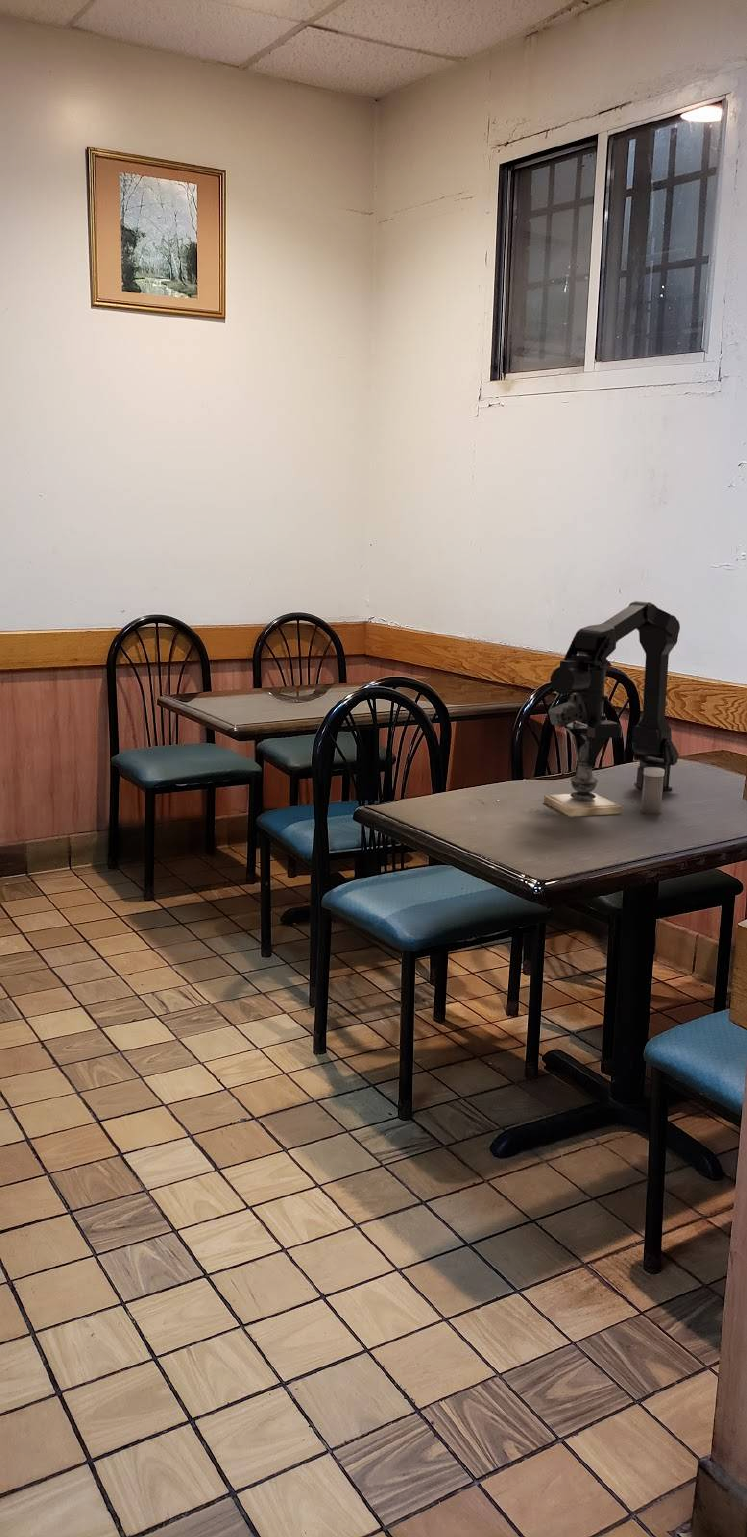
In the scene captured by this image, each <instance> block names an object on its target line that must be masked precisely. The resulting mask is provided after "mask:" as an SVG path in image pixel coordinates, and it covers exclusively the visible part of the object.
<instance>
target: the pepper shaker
mask: <svg viewBox="0 0 747 1537" xmlns="http://www.w3.org/2000/svg"><path fill="white" fill-rule="evenodd" d="M664 771H665V770H664V769H662V768H657V767H646V768H644V781H643V789H642V794H641V807H640V809H641V810H640V812H641V813H644V814H646V815H659V814H661V810H662V802H663V801H662V800H663V799H662V798H663V791H662V789H663V777H664Z"/></svg>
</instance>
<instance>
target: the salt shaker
mask: <svg viewBox="0 0 747 1537" xmlns="http://www.w3.org/2000/svg"><path fill="white" fill-rule="evenodd" d="M576 763H577V772H576V774H575V776H572V777H570V778H569V780H570V782H571V788H573V790H574V792H572V793H570V794H571V797H574V798H578V799H594V798H595V797H596V796H595V795H594V794H593V793H594V792H593V791H594V790H595V789H596V787H597V783H598V782H599V780H598V778H595V777H594V776H593V765H592V766H588V765H587V757H586V742H585V744H584V745H582V746H580V748H579V760H578V759H577V760H576Z"/></svg>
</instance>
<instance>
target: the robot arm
mask: <svg viewBox="0 0 747 1537" xmlns="http://www.w3.org/2000/svg"><path fill="white" fill-rule="evenodd" d="M680 628H681V625H680V621H679V619H677V618H676V616H675V615H672V614H671V613H669V612H667V611H664V610H663V609H660V608H659V607H657V606H656V605H655V604H654V603H653V602H650V601H649V602H647V601H637V600H635V601H632V602H630V603H629V604H628V606H627V607H625V608H623V609H622V610H621V611H619V612H618V613H616V614H614V615H613V616H612V617H610V618H609V619H607V620H606V621H604V622H602V623H600V624H599V623H598V624H593V625H592V624H591V625H587V626H584V627H582V628H579V630H577V631H576V633H575V635H574V636H573V639H572V641H571V644H570V645H569V647H568V649H567V652H566V653H565V656H564V658H563V660H560V662H559V666H558V667H556V668H555V669H554V670H553V672H552V674H551V676H550V684H551V688H552V690H553V691H554V693H555V692H556V694H558V695H560V696H561V695H570V699H569V701H567V702H564V703H561V704H558V705H556V706H553V707H552V708H550V709H548V715H549V718H550V722H551V725H553V726H556V727H557V728H563V729H565V731H566V732H568V733H569V734H570V735H571V737H572V740H573V744H574V747H575V752H576V757H577V761H578V760H579V748H580V746H582V745H584V744H585V742H586V757H587V765H588V766H592V767H593V765H594V764H595V761H596V760H597V758H598V756H599V754H600V753H601V752H602V749H603V748H604V747H605V745H606V743H607V742H608V740H609V739H610V738H611V739H612V738H613V739H614V738H616V739H617V738H622V737H623V727H622V725H620V723H619V722H615V721H612V720H607V715H605V714H604V713H603V712H604V702H608V699H609V698H608V697H609V696H607V695H605V683H606V682H605V680H606V671H607V670H606V668H607V669H608V668H611V667H612V663H611V662H610V661H609V660H608V659H607V658H608V657H609V656H610V655H612V653H613V652H614V651H615V650H616V649H617V643H618V641H619V640H621V639H623V638H624V637H626V636H627V635H629V634H631V633H632V632H633V631H635V630H636V631H638V638H639V640H638V641H639V643H640V645H641V647H642V649H643V651H644V653H645V665H644V682H643V684H644V685H643V699H642V700H643V701H642V702H643V703H642V717H641V719H640V720H639V722H638V723H637V725H634V726H633V727H632V738H631V745H632V754H633V760H634V761H639V766H638V767H637V769H636V770H637V772H636V773H637V774H636V782H634V786H636V787H638V788H639V789H641V790H643V781H644V768H646V767H657V768H662V769H664V770H665V771H664V777H663V789H662V792H664V791H673V787H672V786H670V778H671V766H676V764H677V763H678V759H679V755H680V754H679V751H678V750H677V749H676V747H675V745H674V743H673V738H672V737H673V736H672V728H671V727H670V725H669V723H668V721H667V720H666V710H667V709H666V707H667V706H666V705H667V693H668V692H667V690H668V674H669V655H670V653H671V652H672V651H673V649H674V648H675V646H676V645H677V644H678V640H679V639H678V638H679V634H680V631H681V630H680Z"/></svg>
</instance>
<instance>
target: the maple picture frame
mask: <svg viewBox="0 0 747 1537" xmlns="http://www.w3.org/2000/svg"><path fill="white" fill-rule="evenodd" d="M592 793H593V794H594V795H595V796H596V797H595V798H594V799H578V798H574V797H571V794H572V793H563V794H562V793H560V794H549V795H544V797H543V803H544V804H546V805H548V806H550V807H551V806H552V808H553V809H555V810H557V811H558V812H561V814H564V815H566V816H568V817H586V816H587V817H588V816H589V817H590V816H600V815H601V816H602V815H606V816H607V815H619V814H622V812H623V810H622V808H623V806H621V805H620V804H617V802H613V801H612V800H609V799H607V798H605V797H603V796H601V795H599V794H597V793H595V792H592Z"/></svg>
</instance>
